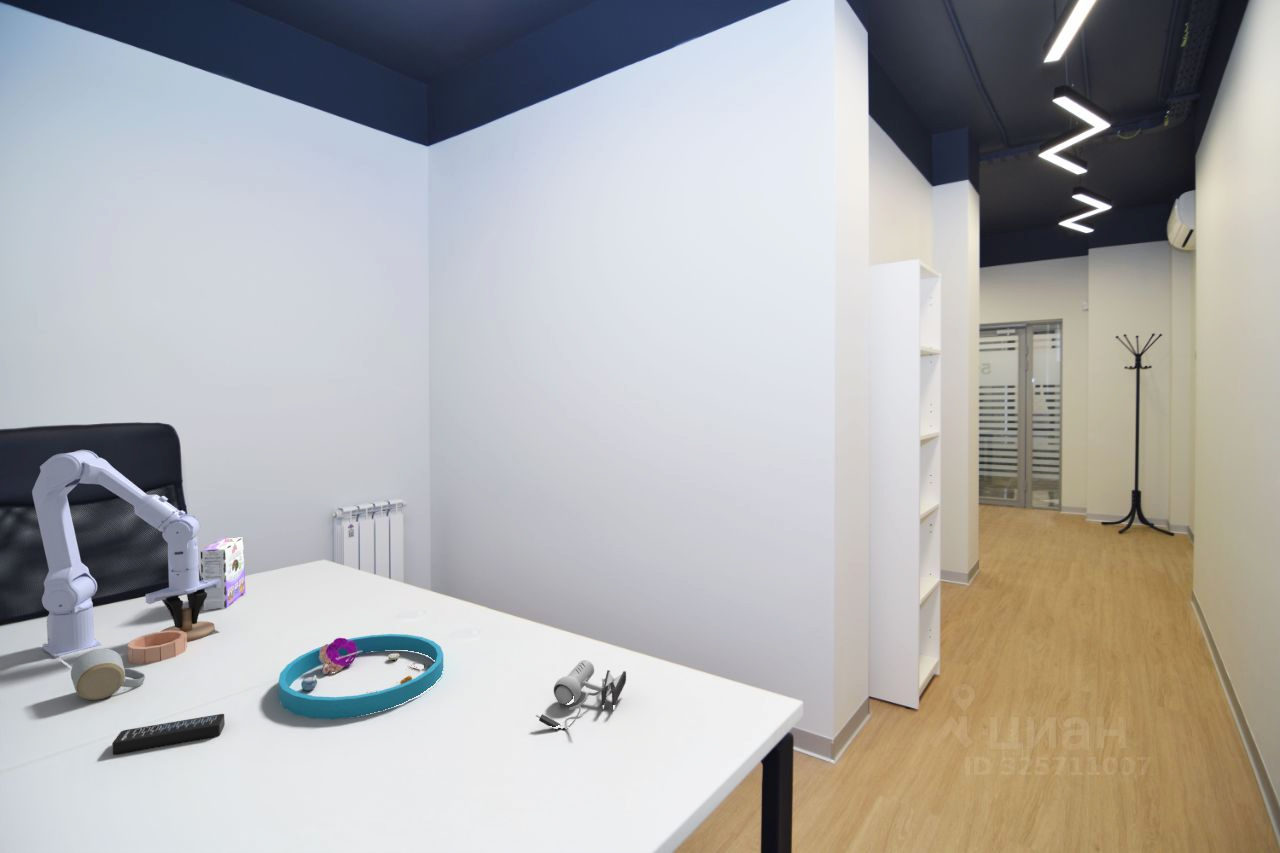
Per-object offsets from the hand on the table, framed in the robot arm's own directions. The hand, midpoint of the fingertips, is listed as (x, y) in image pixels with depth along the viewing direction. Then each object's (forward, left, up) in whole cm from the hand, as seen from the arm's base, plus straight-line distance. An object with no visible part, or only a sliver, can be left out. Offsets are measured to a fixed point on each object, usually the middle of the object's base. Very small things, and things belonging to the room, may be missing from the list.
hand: (185, 625), depth 147 cm
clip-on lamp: (+98, +25, -3) cm, 101 cm away
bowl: (+7, -8, -3) cm, 11 cm away
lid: (0, 0, -2) cm, 2 cm away
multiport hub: (+47, -21, -3) cm, 52 cm away
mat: (0, 0, -3) cm, 3 cm away
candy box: (-18, +16, -3) cm, 24 cm away
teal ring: (+55, +10, -3) cm, 56 cm away
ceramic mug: (+18, -20, -3) cm, 27 cm away
